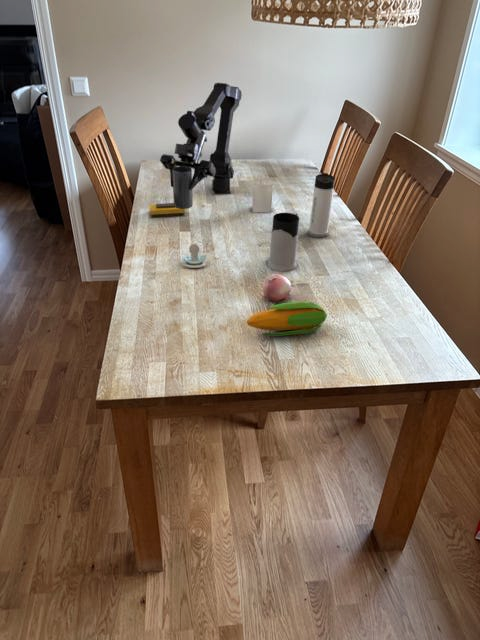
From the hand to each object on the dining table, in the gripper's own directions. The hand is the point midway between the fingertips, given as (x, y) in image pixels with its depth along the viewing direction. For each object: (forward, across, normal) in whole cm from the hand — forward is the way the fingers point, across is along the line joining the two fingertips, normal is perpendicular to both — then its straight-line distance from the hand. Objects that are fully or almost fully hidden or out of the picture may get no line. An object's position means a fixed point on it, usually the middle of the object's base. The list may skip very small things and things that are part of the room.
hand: (180, 188), depth 166 cm
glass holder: (+17, +41, +1) cm, 45 cm away
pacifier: (+27, +17, -9) cm, 33 cm away
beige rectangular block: (-7, +21, +26) cm, 34 cm away
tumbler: (+4, 0, +6) cm, 7 cm away
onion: (+33, +46, -15) cm, 58 cm away
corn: (+43, +52, -25) cm, 72 cm away
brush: (+5, -9, +13) cm, 16 cm away
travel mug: (+1, +46, +18) cm, 49 cm away
